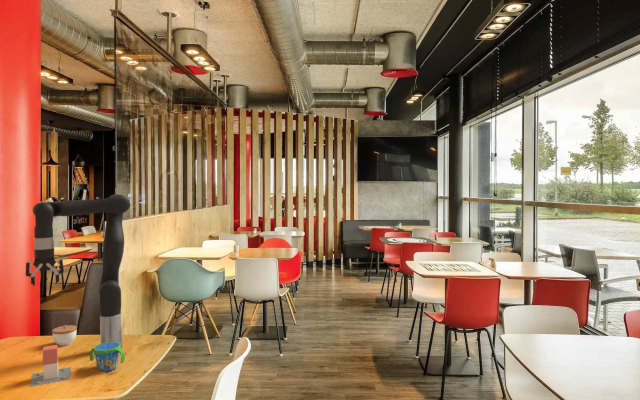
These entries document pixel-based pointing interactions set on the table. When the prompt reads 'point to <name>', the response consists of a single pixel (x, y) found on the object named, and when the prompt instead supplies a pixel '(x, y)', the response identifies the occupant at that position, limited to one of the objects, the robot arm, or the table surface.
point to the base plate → (39, 379)
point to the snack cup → (107, 355)
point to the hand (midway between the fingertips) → (45, 284)
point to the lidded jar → (64, 334)
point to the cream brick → (50, 371)
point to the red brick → (50, 354)
